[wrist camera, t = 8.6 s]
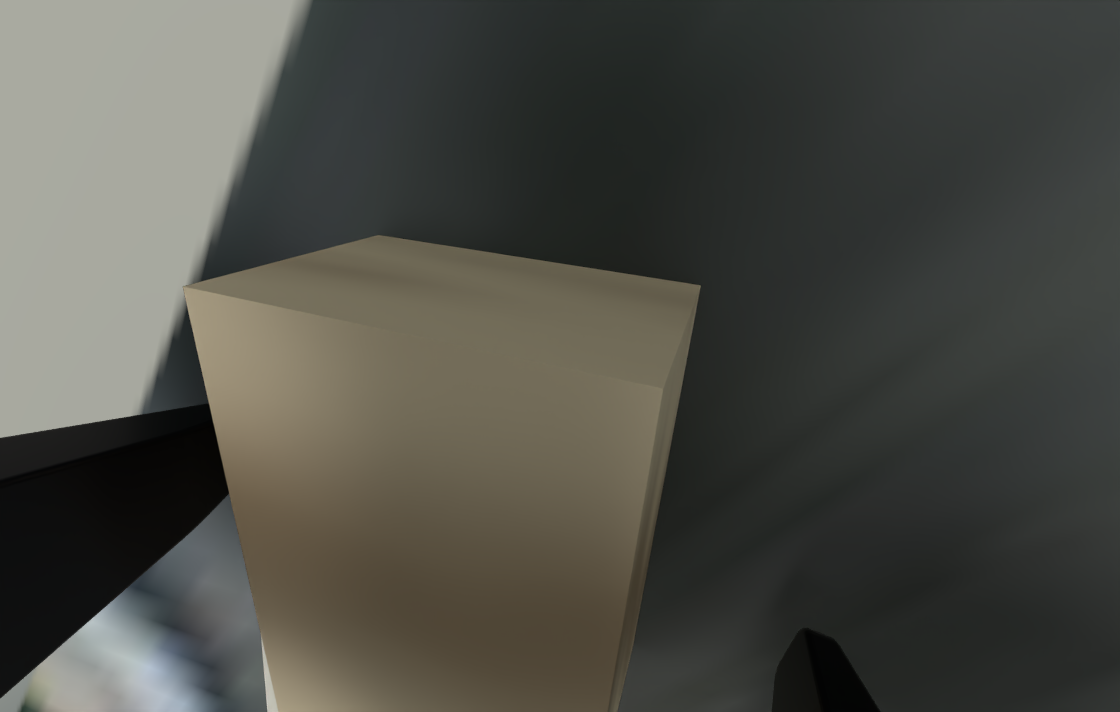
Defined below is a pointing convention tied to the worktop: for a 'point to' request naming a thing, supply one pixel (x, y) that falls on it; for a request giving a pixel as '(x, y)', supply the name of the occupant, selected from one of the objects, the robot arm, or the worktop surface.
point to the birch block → (443, 469)
